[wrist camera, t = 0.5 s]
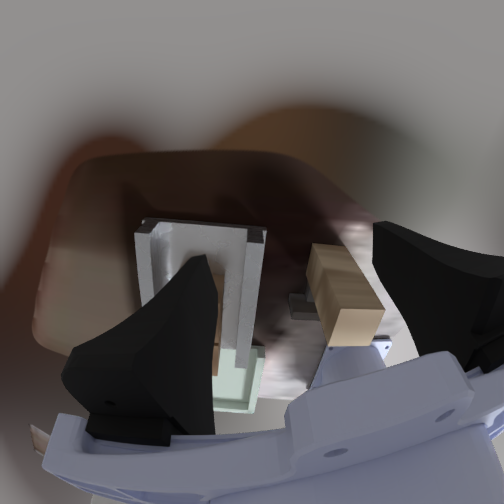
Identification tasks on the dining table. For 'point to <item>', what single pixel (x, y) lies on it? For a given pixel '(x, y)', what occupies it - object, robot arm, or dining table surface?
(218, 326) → the walnut block
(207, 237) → the silver metal tray
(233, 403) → the tray
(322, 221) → the dining table surface
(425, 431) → the robot arm
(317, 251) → the tan block
